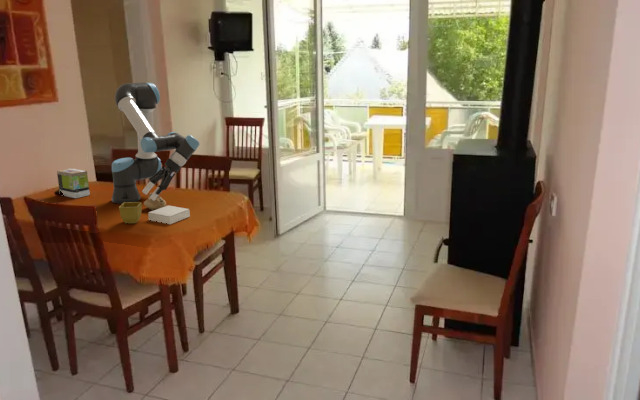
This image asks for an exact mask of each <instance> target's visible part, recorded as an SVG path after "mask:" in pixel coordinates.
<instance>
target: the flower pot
mask: <svg viewBox="0 0 640 400" xmlns="http://www.w3.org/2000/svg"><path fill="white" fill-rule="evenodd" d="M142 205H143V203H142V201H141V202H140V201H137V202H128V203H123V204H121V205H120V206H118V210H119V214H120V218H121V219H122V221H123V222H124V224H127V223H128V224H137V223H138V222H139V221H140V218H141V216H142V207H143V206H142Z"/></svg>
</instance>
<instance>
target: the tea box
mask: <svg viewBox="0 0 640 400" xmlns="http://www.w3.org/2000/svg"><path fill="white" fill-rule="evenodd" d="M56 173H57V182H58V190H59V192H60V191H61V192H62V193H63V195H64V197H68V198H72V199H78V198H82V197H87V196H89V195H91V194H90V185H89V178H88V170H84V169H78V168H73V167H72V168H66V169H61V170H60V169H59V170H57V171H56ZM63 195H62V196H63Z"/></svg>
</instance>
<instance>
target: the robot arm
mask: <svg viewBox="0 0 640 400" xmlns="http://www.w3.org/2000/svg"><path fill="white" fill-rule="evenodd" d="M160 100H161V95H160V91H159V89H158V88H157V85H156V84H154V83H153V82H146V81H145V82H144V81H143V82H130V83H129V82H127V83H122V84H121V85H119V86H118V88H117V89H116V90H115V94H114V102H115V105H116V107H117V108H118V110H119V111H121V112H123V114H124V115H125V116H126V118H127V119H128V121H129V123H130V124H131V125H132V127H133V128H134V130H135V131H136V133H137V153H136V154H135V159H134V158H133V157H121V158H118V159H115V160H113V161H112V163H111V174H112V182H113V183H112V184H113V192H112V196H111V202H112V203H114V204H119V205H120V204H121V205H122V204H123V203H128V202H140V200H141V198H142V197H141V194H140V193H139V190H138V187H137V182H136V181H139V180H145V179H146V180H147V179H149V182H148V183H147V184H146V185H145V186H144V188H143V189H142V191H141V192H142V193H143V194H144V195H145V196H146V195H148V194H149V192H150V191H151V190H152V189H153V187H154V186H155V185H156V183H158V182H159V181H160V180H161V181H160V184H159V185H157V187H156V189H154V191H153V192H152V193H153V194H152V195H151V196H150V197H149V198H151V199H152V200H153V201H155V199H156V198H157V197H158V196H160V194H162V192H163V191H164V190H165V191H166V190H167V189H168V187H169V185H170V184H171V181H172V180H173V178H174V177H175V175H176V174H177V173H179V171H180V170H181V169H182V167H183V166H184V165H186V163H187V162H188V160H189V159H190V158H191V156H192V155H193V154H194V153H195V152H196V151H197V149H198V148H199V146H200V144H201V143H200V141H199V140H198V139H197V138H195V137H194V136H193V135H191V134H187V136H183V135H181V134H180V133H178V132H175V131H170V132H169V133H167V134H166V135H158V134H157V132H156V131H155V130H154V111H155V110H156V108H157V107H156V105H158V104H160ZM172 150H174V151H173V152H172V154H171V155H170V156H169V158H168V159H167V160H166V161H165V162H164V165H165V166H163V165H162V162H161V161H162V160H161V158H159V157H158V154H157V153H155V152H163V151H172Z"/></svg>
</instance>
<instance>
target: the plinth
mask: <svg viewBox="0 0 640 400" xmlns="http://www.w3.org/2000/svg"><path fill="white" fill-rule="evenodd" d="M190 212H191V211H190V208H185V207H178V206H175V205H174V206H173V205H166V206H165V207H162V208H160V209H157V210H151V211H149V212H147V215H148V220H149V221H150V220H151V221H150V222H156V221H157V223H161V222H162V223H161V224H166V223H167V224H166V225H172V224H175V223H177V222H180V221H183V220H185V219H187V218H190V217H191V213H190Z"/></svg>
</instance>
